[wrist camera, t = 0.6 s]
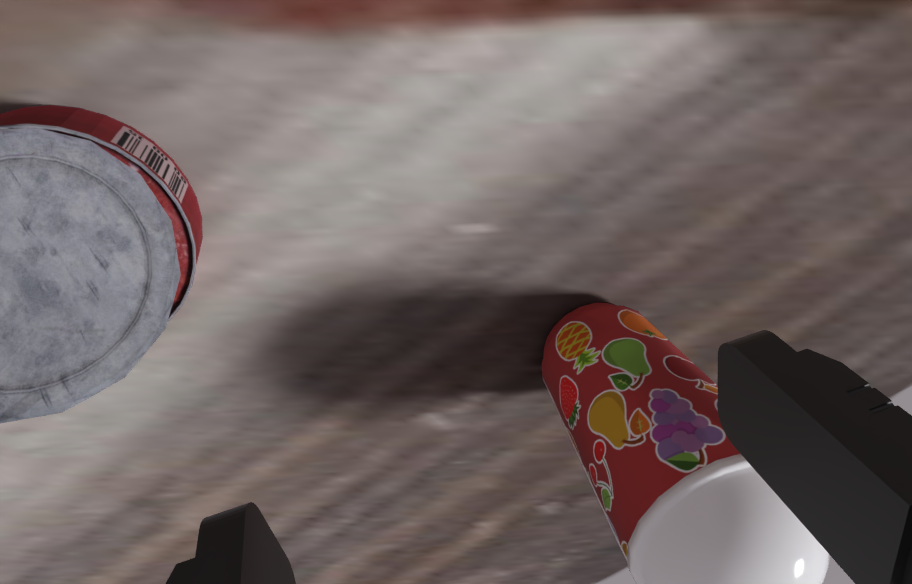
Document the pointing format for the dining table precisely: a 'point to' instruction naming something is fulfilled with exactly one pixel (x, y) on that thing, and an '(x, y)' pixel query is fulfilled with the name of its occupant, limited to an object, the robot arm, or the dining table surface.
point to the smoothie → (668, 459)
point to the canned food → (85, 254)
